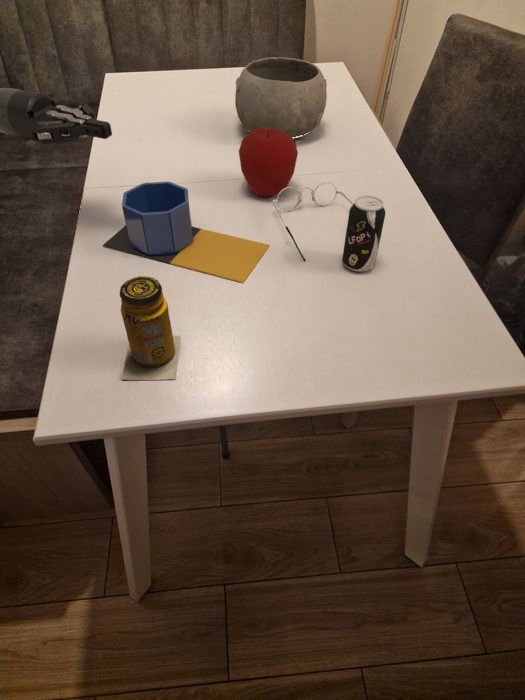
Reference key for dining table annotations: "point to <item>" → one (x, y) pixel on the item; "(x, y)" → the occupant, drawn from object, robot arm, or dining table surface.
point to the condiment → (148, 331)
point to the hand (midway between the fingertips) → (108, 130)
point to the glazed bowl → (158, 217)
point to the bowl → (281, 95)
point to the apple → (267, 160)
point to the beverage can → (363, 233)
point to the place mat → (204, 253)
